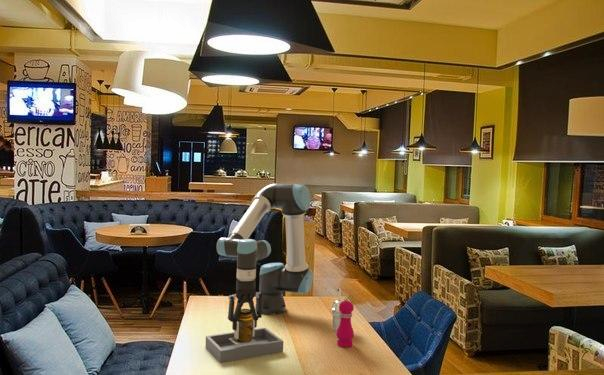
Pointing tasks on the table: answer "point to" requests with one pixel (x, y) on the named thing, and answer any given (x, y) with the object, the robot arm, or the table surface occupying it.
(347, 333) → the pepper mill
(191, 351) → the table surface
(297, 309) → the table surface
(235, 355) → the tray
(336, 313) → the cup with straw
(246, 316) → the condiment
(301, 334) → the table surface
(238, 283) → the robot arm
